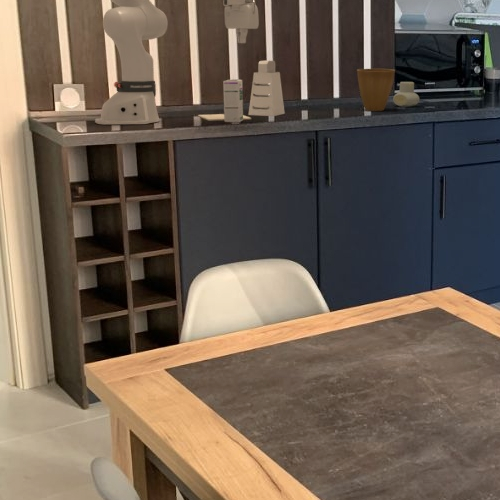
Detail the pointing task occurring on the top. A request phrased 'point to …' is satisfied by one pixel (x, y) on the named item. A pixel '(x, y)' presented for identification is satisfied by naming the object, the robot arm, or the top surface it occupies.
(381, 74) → the plant pot
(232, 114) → the syrup box
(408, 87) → the pipe tee fitting
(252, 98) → the grater
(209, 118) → the mat
